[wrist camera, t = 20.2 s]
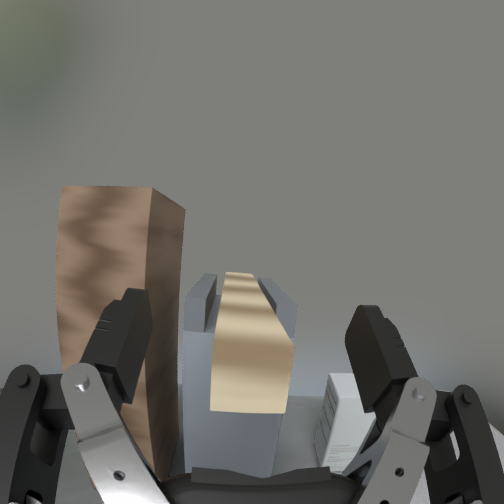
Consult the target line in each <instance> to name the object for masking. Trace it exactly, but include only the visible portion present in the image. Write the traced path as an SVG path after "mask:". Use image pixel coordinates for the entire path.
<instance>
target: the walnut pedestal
mask: <svg viewBox="0 0 504 504" xmlns="http://www.w3.org/2000/svg"><path fill="white" fill-rule="evenodd" d="M184 219H185V209H184V208H183V207H181V206H180V205H178V204H177V203H175V202H174V201H172V200H171V199H169V198H168V197H166V196H165V195H163V194H161V193H160V192H158V191H157V190H155V189H154V188H151V187H121V186H62V192H61V200H60V209H59V219H58V231H57V248H56V306H57V307H56V308H57V323H58V336H59V346H60V353H61V362H62V369H63V373H64V371H65V370H66V369H67V368H68V367H70V366H71V365H74V364H77V363H79V361H80V360H81V357H82V355H83V353H84V350H85V348H86V346H87V344H88V342H89V339H90V337H91V335H92V333H93V331H94V329H95V327H96V324H97V322H98V321H99V318H100V316H101V314H102V312H103V310H104V308H105V307H106V306H107V305H108V304H110V303H111V302H112V301H113V300H121V299H122V297H123V295H124V293H125V291H126V289H127V288H136V289H145V290H147V291H148V294H149V300H150V307H151V313H152V320H153V326H152V333H151V337H150V340H149V344H148V347H147V351H146V354H145V358H144V361H143V365H142V368H141V372H140V376H139V379H138V383H137V387H136V391H135V395H134V398H133V402H132V405H131V404H127V403H123V404H122V408H121V411H120V413H121V415H122V417H123V419H124V421H125V423H126V425H127V427H128V429H129V431H130V432H131V434H132V436H133V438H134V440H135V441H136V443H137V445H138V447H139V448H140V450H141V452H142V454H143V455H144V457H145V458H146V460H147V461H148V463H149V464H150V466H151V467H152V469H153V471H154V472H155V474H156V475H157V477H158V478H159V480H160V481H161V482H162V481H164V480H166V479H168V475H169V471H170V467H171V463H172V459H173V455H174V451H175V447H176V443H177V440H178V436H179V426H178V387H177V350H178V349H177V348H178V311H179V289H180V271H181V255H182V243H183V230H184ZM75 432H76V429H75ZM76 436H77V439H78V441H79V437H78V434H77V432H76ZM86 468H87V467H86ZM87 471H88V469H87ZM88 474H89V472H88ZM89 477H90V480H91V482H92V485H93V487H94V489H95V490H97V488H96V486H95V484H94V482H93V480H92V478H91V476H90V474H89Z"/></svg>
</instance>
